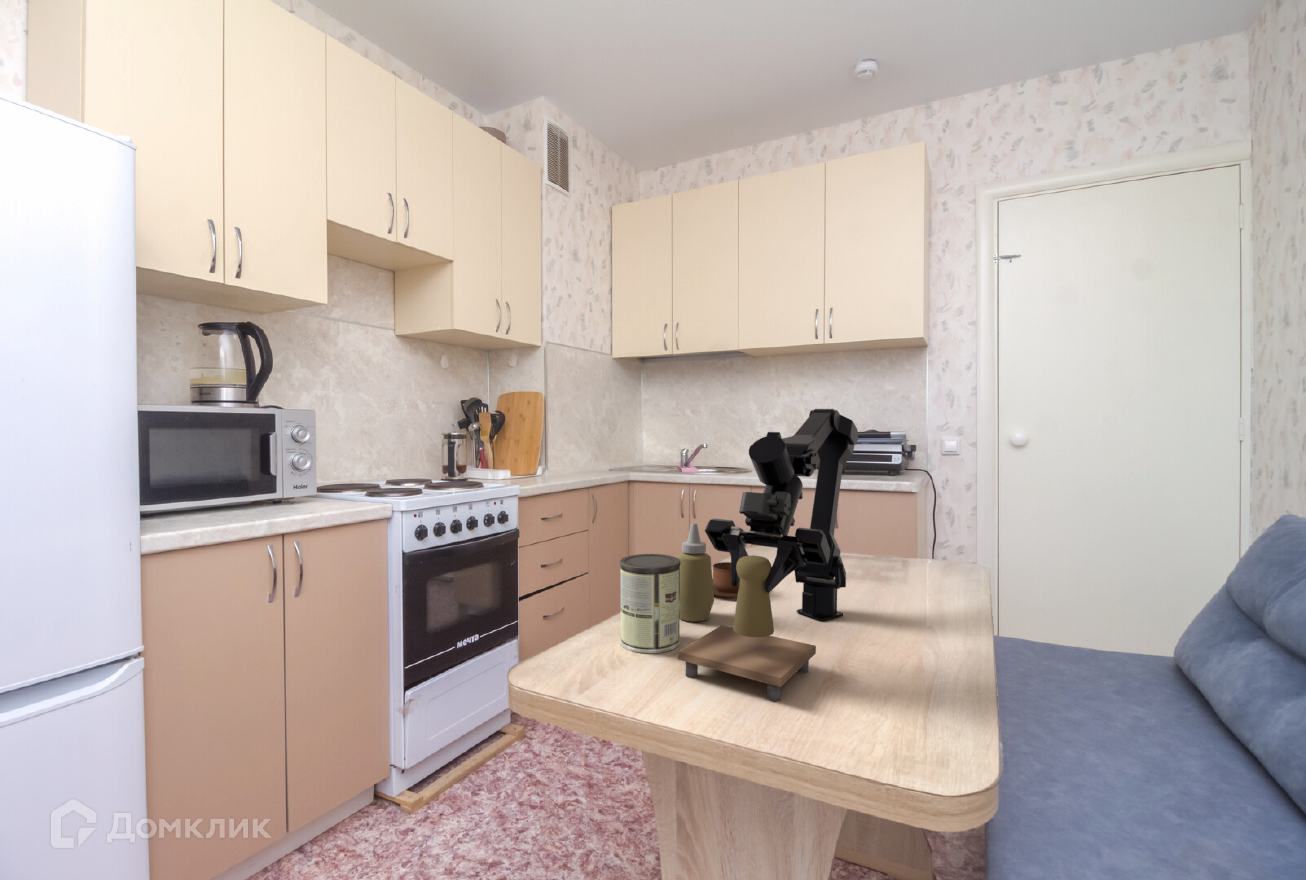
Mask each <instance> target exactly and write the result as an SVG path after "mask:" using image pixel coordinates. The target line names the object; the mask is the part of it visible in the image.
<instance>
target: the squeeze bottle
mask: <svg viewBox="0 0 1306 880" xmlns="http://www.w3.org/2000/svg"><path fill="white" fill-rule="evenodd" d="M699 531H700V530H699V527H698V523H691V524H690V527H689V533H688V537H687V540H686V541H683V542H681V552H680V553H678V554H677V556H676V558H678V559H680V561H681V564H680V611H679V615H680V617H679V620H681V621H682V620H683V621H686V622H703V621H706V620H708V619H709V617H710V614H711V612H712V609H713V606H714V602H715V595H714V591H713V567H712V558H711V557H712V556H710V555H709V554H708V553H707V543H706V542H705V541H704V542H703V541H701V537H700V532H699Z"/></svg>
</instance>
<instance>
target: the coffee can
mask: <svg viewBox="0 0 1306 880" xmlns="http://www.w3.org/2000/svg"><path fill="white" fill-rule="evenodd" d="M680 564H681V561H680V559H678V558H677V556H676V557H675V556H672V555H668V554H660V553H641V554H640V553H639V554H633V555H632V554H631V555H628V556H625V557H623V558H621V559H620V560H619V566H620V640H619V641H620V643H619V644H620V646H622V647H623V648H624V649H626V650H628V651H631V652H635V653H640V654H661V653H665V652H670V651H673V650H674V649H676V648H677V647H678V646H679V645H680V643H681V641H680V630H681V629H680V618H679V617H680V615H679V611H680Z"/></svg>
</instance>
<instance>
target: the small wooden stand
mask: <svg viewBox="0 0 1306 880" xmlns="http://www.w3.org/2000/svg"><path fill="white" fill-rule="evenodd" d="M816 647H817V645H813V644H809V643H805V642H800V641H796V640H791V639H787V638H783V637H777V636H773V635H770V636H766V637H747V636H743V635H739V634H737V633H736V632H734V631H733V627H732V626H727V625H723V624H721V625H720V626H717V627H716V628H715V629H713V630H711V631H709V632H708V633H706V634H705V635H702V636H701V637H699V638H698V639H697V640H695V641H693V642H691V643H690V644H688V645H686V646H685V647H683V648H681V649H679V650H678V651H677V660H678V661H682V662H685V677H686V678H690V679H691V678H694V679H695V678H696V677H698V675H699V671H698V670H699V669H698V668H699V666H701V667H703V668H704V667H705V668H708V669H712V670H715V671H720V672H723V673H727V674H731V675H734V676H738V677H742V678H746V679H748V680H749V679H750V680H752V681H757V682H760V683H764V684H767V686H766V687H767V690H766V692H767V693H766V697H767V698H766V699H767V700H769V701H771V702H779V701H781V698H782V686H783V685H784V684H785V683H786V682H787V681H789V679H790V678H791V677H793V676H794V674H796V673H800V674H807V673H809V672H810V671H809V670H810V669H809V667H810V666H809V665H810V664H809V663H810V660H811V659H812V658H813V657H814V656H815V655H816V653H817V652H816V651H817V650H816V649H817V648H816Z"/></svg>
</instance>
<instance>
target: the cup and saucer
mask: <svg viewBox="0 0 1306 880" xmlns="http://www.w3.org/2000/svg"><path fill="white" fill-rule="evenodd" d="M712 579H713V591H714V597H715V596H716V597H720V598H725V599H726V598H727V599H732V598H733V599H737V596H738V589H739V583H738V584H737V586H736V587H733V585H732V583H731V561H724V562H723V561H722V562H715V563H713V564H712ZM739 582H740V581H739Z"/></svg>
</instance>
